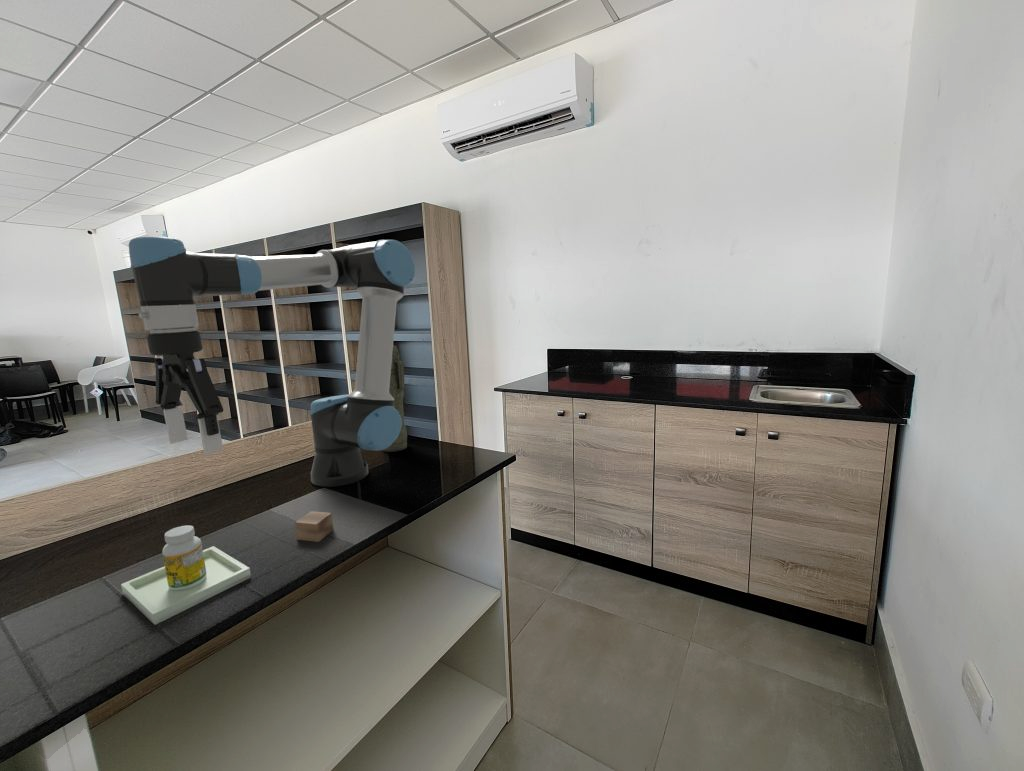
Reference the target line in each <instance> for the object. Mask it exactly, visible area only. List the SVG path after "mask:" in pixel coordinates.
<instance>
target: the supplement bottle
mask: <svg viewBox="0 0 1024 771" xmlns="http://www.w3.org/2000/svg"><path fill="white" fill-rule="evenodd" d="M195 534H196V532H195V528H194V526H193V525H181V526H177V527H173V528H171V529H169V530H168V531H166V532H165V533H164V542H165V543H166V544H165V545H164V546H163V548H162V551H161V553H162V559H163V564H164V566H165V570H166V576H167V581H168V587H169V588H170V589H171V590H174V591H181V590H186V589H189V588H192V587H194V586H196V585H198V584H200V583H201V582H202V581H203V580H204V579H205V578H206V567H205V561H204V556H203V550H204V549H203V544H202V540H201V538H199V537H198V536H197V535H196V536H195Z"/></svg>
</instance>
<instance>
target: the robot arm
mask: <svg viewBox="0 0 1024 771" xmlns="http://www.w3.org/2000/svg"><path fill="white" fill-rule="evenodd" d="M128 250H129V251H128V253H129V254H128V255H129V261H130V269H131V271H132V275H133V279H134V283H135V288H136V292H137V296H138V299H139V300H138V301H139V306H140V311H141V312H139V313H138V317H139V319H142V321H143V324H144V325H143V326H144V330H146V331H150V333H147V334H146V337H145V338H146V342H147V347H148V352H149V353H150V354H151V355H153V356H157V357H154V366H155V404H156V405H157V406H159V407H160V408H161V410H162V411H163V416H164V420H165V422H164V423H165V427H166V430H167V436H168V439H169V443H170V444H176V443H180V442H184V441H186V440H187V441H188V439H189V437H188V432H187V428H186V427H187V426H186V423H185V422H186V421H185V418H184V413H183V408H182V406H183V405H184V404H183V403H182V401H181V394H182V390H183V389H184V390H185V391H186V393H187V395H188V396H189V398H190V401H191V402H192V404H193V406H194V407H195V409H196V411H197V414H196V417H195V419H196V420H197V423H198V428H199V433H200V438H201V443H202V448H203V452H204V453H203V454H204V455H207V456H208V455H210V454H213V453H218V452H220V451H223V450H224V446H223V440H222V435H221V429H220V425H219V424H220V423H219V420H218V418H219V417H218V415H219V414H220V413H223V412H224V406H223V404H222V403H221V400H220V397H219V395H218V392H217V391H216V390H217V389H216V388H215V385H214V383H213V381H212V378H211V376H210V374H209V371H208V368H207V362H206V360H205V358H196V359H195V356H194V353H198V352H201V351H203V350H204V349H203V348H204V347H203V342H202V337H201V333H200V332H199V330H196V329H197V328H199V326H200V324H199V319H198V318H199V317H198V314H197V307H196V303H195V299H194V298H200V297H218V296H234V295H235V296H236V295H239V296H244V295H254V294H256V293H257V292H258V291H259V292H260V291H267V290H268V291H269V290H280V289H289V288H299V287H300V288H301V287H311V286H322V287H324V288H327V289H328V288H330V289H331V288H354V289H356V291H357V292H358V293H359V294H360V296H361V297H362V299H361V300H362V302H361V311H360V312H361V314H360V322H359V323H360V324H359V335H358V336H359V337H358V347H357V348H358V349H357V358H356V369H355V371H356V372H355V381H354V383H355V384H354V390H352V392H350V393H349V394H339V395H334V396H329V397H323V398H322V397H321V398H318V399H316V400H313V401H312V402H311V404H310V414H309V415H310V417H311V418H310V419H311V426H312V433H313V435H312V437H313V444H314V458H313V462H312V467H311V470H310V482H311V483H312V484H313V485H314V486H318V487H323V488H331V487H332V488H333V487H342V486H345V485H350V484H353V483H357V482H360V481H361V480H363V479H365V478H366V477H367V476H368V475H369V466H368V463H367V460H366V459H365V456H364V453H363V451H362V450H365V451H377V452H378V451H382V450H383V449H386V448H388V447H389V446H390V445H392V443H393V442H394V441H395V440H396V439H397V437H398V435H399V433H400V430H401V426H402V419H401V415H399V412H398V411H397V410H396V409H395V408H394V398H393V397H392V396H391V394H390V393H389V386H390V375H391V363H392V351H393V344H394V338H395V327H396V314H397V306H398V305H397V304H398V301H400V300H401V299H402V298H404V292H405V287H407V286H408V285H410V284H411V282H413V279H414V278H415V273H416V266H415V261H414V258H413V256H412V253H410V250H409V249H408V248H407V247H406V246H405V245H404V244H403V243H402V242H401V241H399V240H396V239H383V238H382V239H378V240H376V241H368V242H361V243H354V244H353V243H352V244H350V245H345V246H342V247H338V248H333V249H320V250H318V251H317V252H316V253H315V254H291V255H290V254H289V255H269V256H268V255H267V256H262V255H261V256H249V255H244V254H243V255H241V254H237V253H232V254H230V253H229V254H228V253H207V252H206V253H205V252H204V253H203V252H192V251H187V249H186V247H185V245H184V243H183V241H182V240H181V239H179V238H175V237H174V238H173V237H166V236H139V237H135V238H132V239H130V241H129V242H128ZM361 449H362V450H361Z"/></svg>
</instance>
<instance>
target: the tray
mask: <svg viewBox="0 0 1024 771" xmlns="http://www.w3.org/2000/svg"><path fill="white" fill-rule="evenodd" d="M202 550H203V556H204V561H205V567H206V578H205V579H204V580H203V581H202V582H201V583H200V584H198V585H196V586H194V587H192V588H189V589H186V590H181V591H174V590H171V589H170V588H169V587H168V581H167V576H166V570H165V565H164V566H162V567H159V568H157V569H154V570H152V571H149V572H146V573H144V574H142V575H139V576H138V577H136V578H133V579H130V580H128V581H126V582H122V583H121V584H120V586H121V591H122V594H123V596H124V597H125V598H127V600H128V601H129V602H131V603H132V604H133V605H134V606H135V607H136V608H137V609H138V610H139V611H140V613H142V614H143V615H144V616H145V617H146V618H147V619H148V620H149V621H150V622H151V623H152V624H153V625H154V626H155V625H158V624H160V623H162V622H163V621H166V620H169V619H170V618H172V617H174V616H176V615H178V614H180V613H182V612H185V611H186V610H188V609H190V608H192V607H194V606H196V605H199V604H200V603H202V602H204V601H206V600H208V599H210V598H213V597H214V596H216V595H218V594H220V593H222V592H225V591H226V590H228V589H230V588H232V587H235V586H237V585H238V584H241V583H242V582H243V583H244V581H247V580H248V579H251V578H252V575H251V569H250V567H249V566H247V565H246V564H244V563H242V562H241V561H239V560H237V559H236V558H234V557H233V556H230V555H229V554H227V553H226V552H224V551H223V550H221V549H219V548H217V547H216V546H215V545H213V546H210V547H208V548H205V549H202Z"/></svg>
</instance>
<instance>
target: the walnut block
mask: <svg viewBox="0 0 1024 771" xmlns="http://www.w3.org/2000/svg"><path fill="white" fill-rule="evenodd" d="M332 515H333V513H332V512H325V511H313V510H311V511H309V512H308V513H307V514H305V515H304V516H302V517H300V518H299V519H298V520H296V521H295V522H294V524H295V532H296V533H295V534H296V540H297V541H304V542H305V541H306V542H307V541H308V542H316V543H319V542H320V541H321V540H323V539H324V538H325V537H326V536H328V534H330V533H331V532H333V531H334V525H333V516H332Z"/></svg>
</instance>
